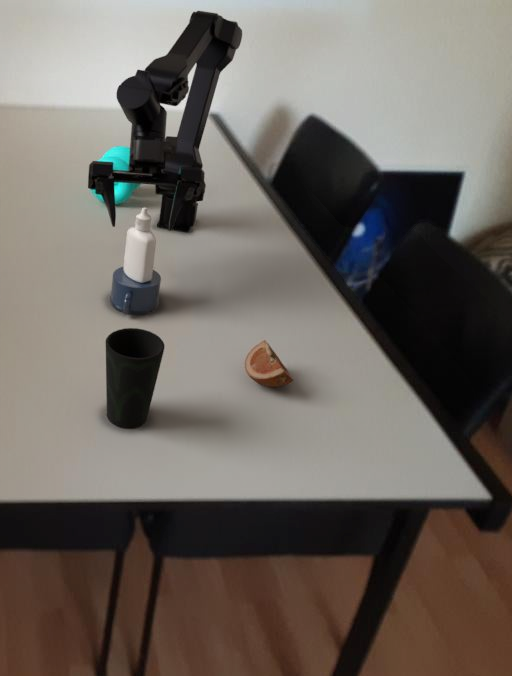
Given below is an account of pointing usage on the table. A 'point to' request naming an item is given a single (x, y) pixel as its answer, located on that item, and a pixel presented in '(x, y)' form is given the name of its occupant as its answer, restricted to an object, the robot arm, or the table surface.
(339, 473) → the table surface
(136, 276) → the eye dropper bottle
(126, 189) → the donuts
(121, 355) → the cup
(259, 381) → the fruit slice
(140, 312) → the blue mug
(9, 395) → the table surface
